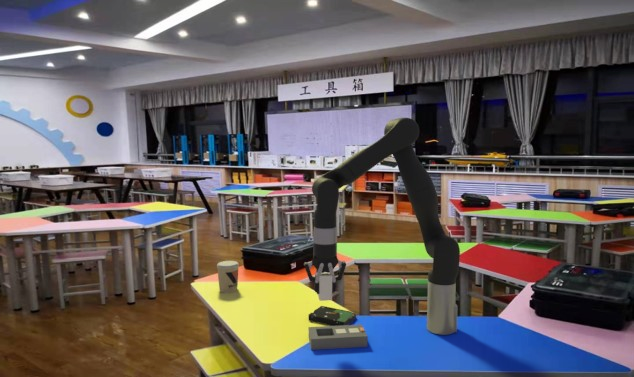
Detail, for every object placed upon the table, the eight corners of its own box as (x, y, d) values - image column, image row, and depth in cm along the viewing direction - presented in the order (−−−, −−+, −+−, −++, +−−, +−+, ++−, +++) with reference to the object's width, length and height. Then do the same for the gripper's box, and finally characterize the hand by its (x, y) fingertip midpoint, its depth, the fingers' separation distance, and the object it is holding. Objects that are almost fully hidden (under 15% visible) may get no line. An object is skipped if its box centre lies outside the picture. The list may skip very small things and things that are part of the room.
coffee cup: (229, 294, 188) (228, 267, 187) (213, 290, 193) (212, 264, 192) (243, 288, 196) (242, 262, 195) (227, 284, 201) (227, 259, 200)
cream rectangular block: (330, 295, 144) (330, 271, 143) (332, 300, 140) (332, 275, 139) (318, 296, 143) (318, 272, 142) (319, 300, 139) (319, 276, 139)
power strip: (361, 334, 149) (361, 323, 149) (367, 346, 140) (367, 334, 140) (308, 337, 147) (308, 325, 147) (311, 349, 138) (311, 337, 138)
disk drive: (308, 322, 161) (345, 329, 154) (307, 314, 161) (344, 321, 154) (321, 312, 170) (356, 319, 163) (321, 305, 170) (356, 311, 163)
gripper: (345, 237, 144) (344, 288, 146) (301, 238, 143) (302, 290, 144) (349, 242, 137) (348, 296, 139) (303, 244, 135) (303, 298, 137)
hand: (324, 292), depth 141 cm, fingers closed on cream rectangular block, 4 cm apart
